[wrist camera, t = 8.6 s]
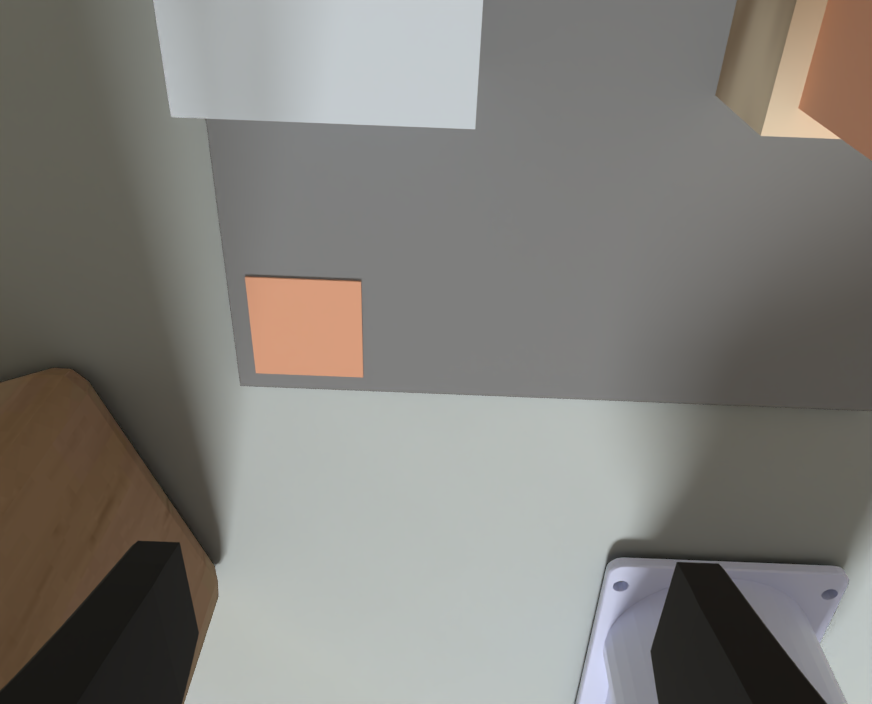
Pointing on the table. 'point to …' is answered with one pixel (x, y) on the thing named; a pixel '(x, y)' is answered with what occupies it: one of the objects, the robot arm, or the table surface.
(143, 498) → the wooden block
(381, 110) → the blue-grey cube
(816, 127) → the maple block
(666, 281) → the grey square mat
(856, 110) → the terracotta cube
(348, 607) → the table surface
